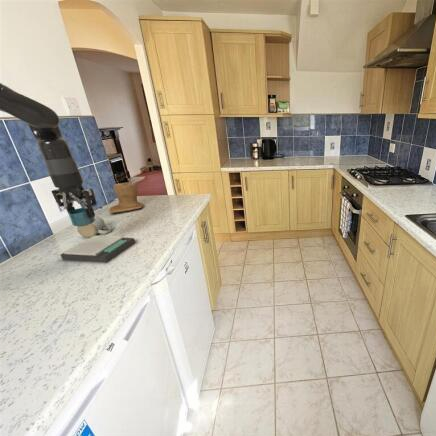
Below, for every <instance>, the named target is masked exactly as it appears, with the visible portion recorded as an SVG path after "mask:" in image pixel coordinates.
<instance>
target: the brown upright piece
mask: <svg viewBox="0 0 436 436" xmlns="http://www.w3.org/2000/svg"><path fill="white" fill-rule="evenodd" d="M113 193H114V194H115V196H116V199H117V200H118V203H117V204H115V205H113V206H110V208H109V210H108V212H109V214H116V213H117V214H118V213H123V212H129V211H135V210H140V209H141V208H143V207H144V204H143V203H142V202H139V201H138V187H137V184H136V182H135V183H134V182H123V183H120V182H119V183H114V184H113Z"/></svg>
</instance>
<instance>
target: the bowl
mask: <svg viewBox="0 0 436 436" xmlns="http://www.w3.org/2000/svg"><path fill="white" fill-rule="evenodd" d="M84 209H85V208H84V207H78V208H75V209H74V210H72V211H70V212H67V214H68V215H69V219H70V222H71V224H72V226H75V227H78V226H86V225H89V224H92V223H93V222H94V221H95V217H93V218H88V217H87V215H86V212H85V210H84Z"/></svg>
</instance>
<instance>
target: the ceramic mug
mask: <svg viewBox="0 0 436 436" xmlns="http://www.w3.org/2000/svg"><path fill="white" fill-rule="evenodd" d="M104 228H105V229H106V230H103V229H104ZM107 229H108V230H107ZM77 232H78V234H79V235H80V236H82V237H85V238H91V237H93V236H98V234H101V235H102V234H103V235H104V234H105V235H107V234H110V233H111V232H112V226H110V225H108V224H106V223H105V220H104V219H103V218H102V217H101V216H99V215H96V214H95V221H94V222H93V223H92V224H89V225H86V226H77Z"/></svg>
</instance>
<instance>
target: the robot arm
mask: <svg viewBox="0 0 436 436" xmlns="http://www.w3.org/2000/svg"><path fill="white" fill-rule="evenodd" d="M0 112H3V113H6V114H9V115H11V116H12V117H14V118H17V119H18V120H20V121H23V122H25V123H26V124H27V126H28V128H29V129H30V131H31V133H32V135H33V137H34V139H35V140H36V143H37V146H38V150H39V152H40V154H41V156H42V158H43V161H44V165H45V168H46V169H47V173H48V175H49V177H50V179H51V181H52V184H53V185H54V186H53V187H55V188H56V189H53V190H51V194H52V196H53V198H54V199H55V201H56V203H57V205H58V206H59V207H60V208H64V209H65V210H66V212H67V213H68V212H70V211H72V210H74V209H76V208H75V206H74V203H75V202H76V203H77V204H78V205H81V206H82V208H85V209H84V210H85V212H86V215H87V217H88V218H93V217H95V215H96V212H95V211H94V208H93V207H94V206H97V205H98V202H97V199H96V195H95V193H94V190H93V189H92V188H89V189H87V188H84V186H83V184H84V180H83V178H82V177H83V176H82V175H81V173H80V170H79V167H78V165H77V164H78V163H77V162H76V161H75V159H74V157H73V155H72V152H71V149H70V146H69V145H68V142H67V141H66V139H65V138H64V136H63V134H62V132H61V130H60V127H59V125H60V117H59V115H58V114H57V112H56V111H54V109H52V108H50V107H49V106H47V105H45V104H43V103H41V102H39V101H38V100H35V99H32V98H30V97H29V96H27V95H24V94H22V93H19V92H17V91H15V90H14V89H12V88H11V87H9V86H7V85H6V84H3V83H2V82H0ZM61 200H62V201H61Z"/></svg>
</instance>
